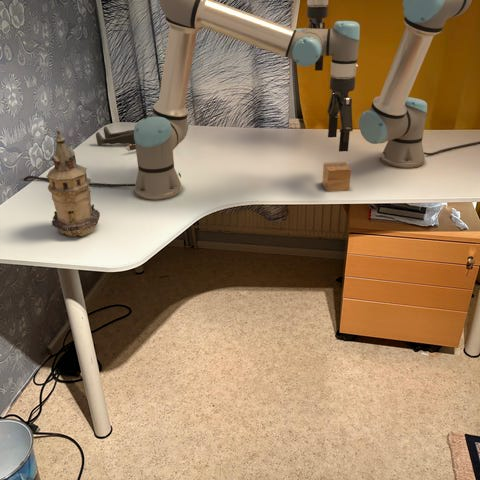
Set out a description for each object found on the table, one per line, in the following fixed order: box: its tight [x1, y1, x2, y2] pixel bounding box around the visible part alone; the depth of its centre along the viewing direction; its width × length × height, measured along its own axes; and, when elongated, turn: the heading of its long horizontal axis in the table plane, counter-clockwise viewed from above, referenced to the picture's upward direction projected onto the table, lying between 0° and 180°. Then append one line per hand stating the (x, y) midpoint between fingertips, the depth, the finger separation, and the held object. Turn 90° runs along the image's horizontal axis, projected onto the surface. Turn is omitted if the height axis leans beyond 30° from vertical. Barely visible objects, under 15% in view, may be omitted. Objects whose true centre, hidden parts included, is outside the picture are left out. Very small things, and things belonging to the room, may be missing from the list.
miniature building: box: [45, 129, 101, 237], centre depth 148 cm, size 13×14×30 cm
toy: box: [95, 126, 136, 152], centre depth 218 cm, size 26×6×30 cm
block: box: [321, 161, 352, 192], centre depth 178 cm, size 7×8×7 cm
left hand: (337, 143), depth 172 cm, fingers open, 13 cm apart
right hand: (314, 66), depth 203 cm, fingers open, 13 cm apart
